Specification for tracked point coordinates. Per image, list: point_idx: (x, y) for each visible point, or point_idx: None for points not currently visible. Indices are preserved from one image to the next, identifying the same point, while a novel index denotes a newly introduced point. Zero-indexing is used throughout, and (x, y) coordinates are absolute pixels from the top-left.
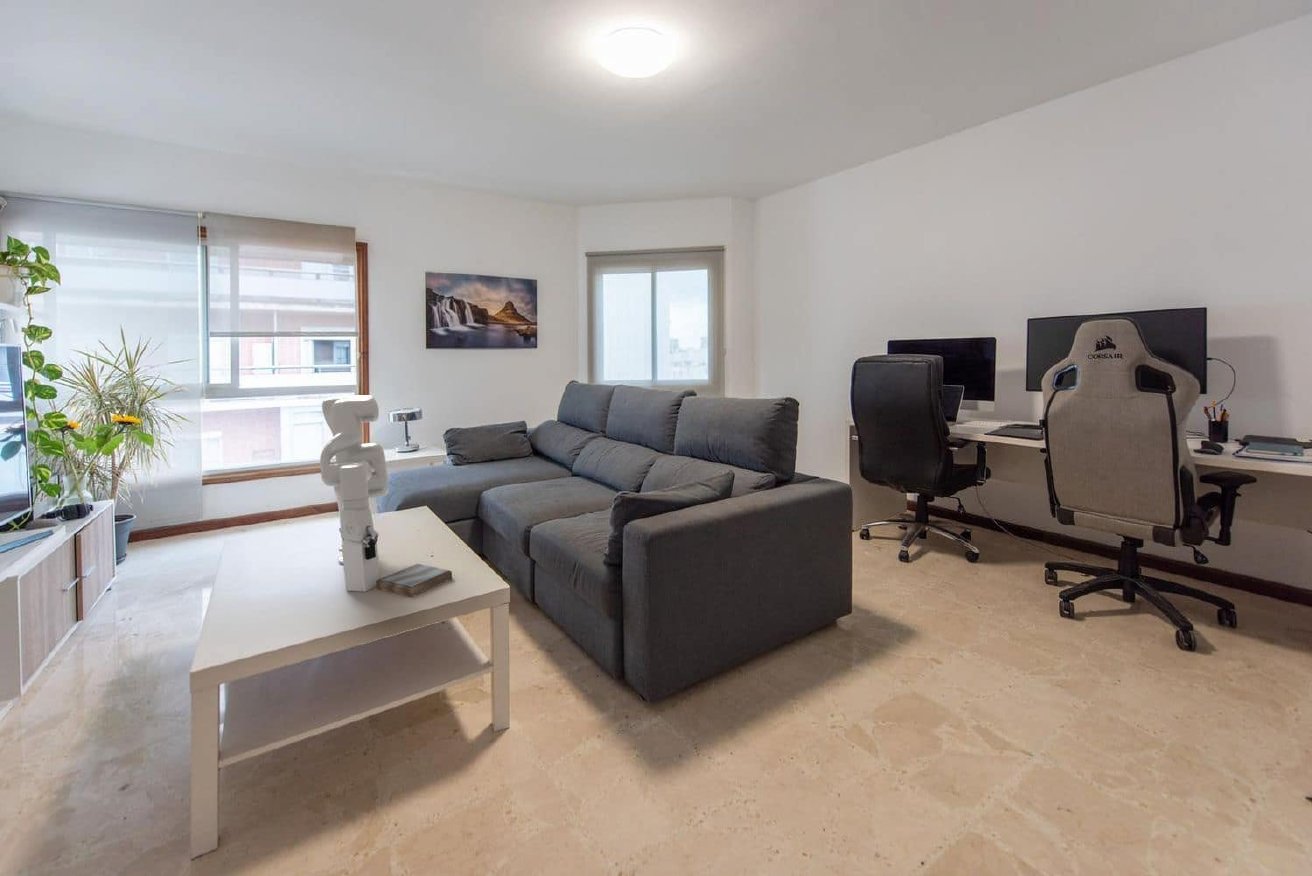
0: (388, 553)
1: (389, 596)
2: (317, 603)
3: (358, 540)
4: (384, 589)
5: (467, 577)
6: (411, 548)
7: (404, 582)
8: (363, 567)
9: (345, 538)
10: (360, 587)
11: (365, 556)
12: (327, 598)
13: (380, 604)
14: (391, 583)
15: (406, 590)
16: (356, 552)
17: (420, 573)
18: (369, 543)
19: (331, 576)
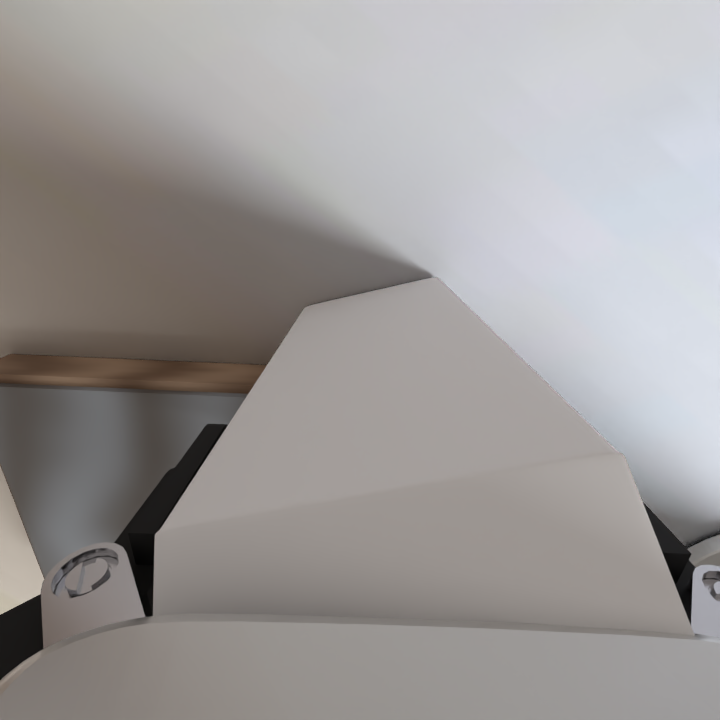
0: None
1: (124, 315)
2: (441, 36)
3: (102, 640)
4: (227, 365)
5: (40, 587)
6: None
7: (74, 416)
8: (266, 366)
9: (668, 652)
10: (331, 305)
11: (213, 442)
12: (449, 137)
13: (50, 211)
14: (152, 388)
15: (22, 367)
16: (291, 432)
17: None
18: (40, 630)
19: (712, 396)
